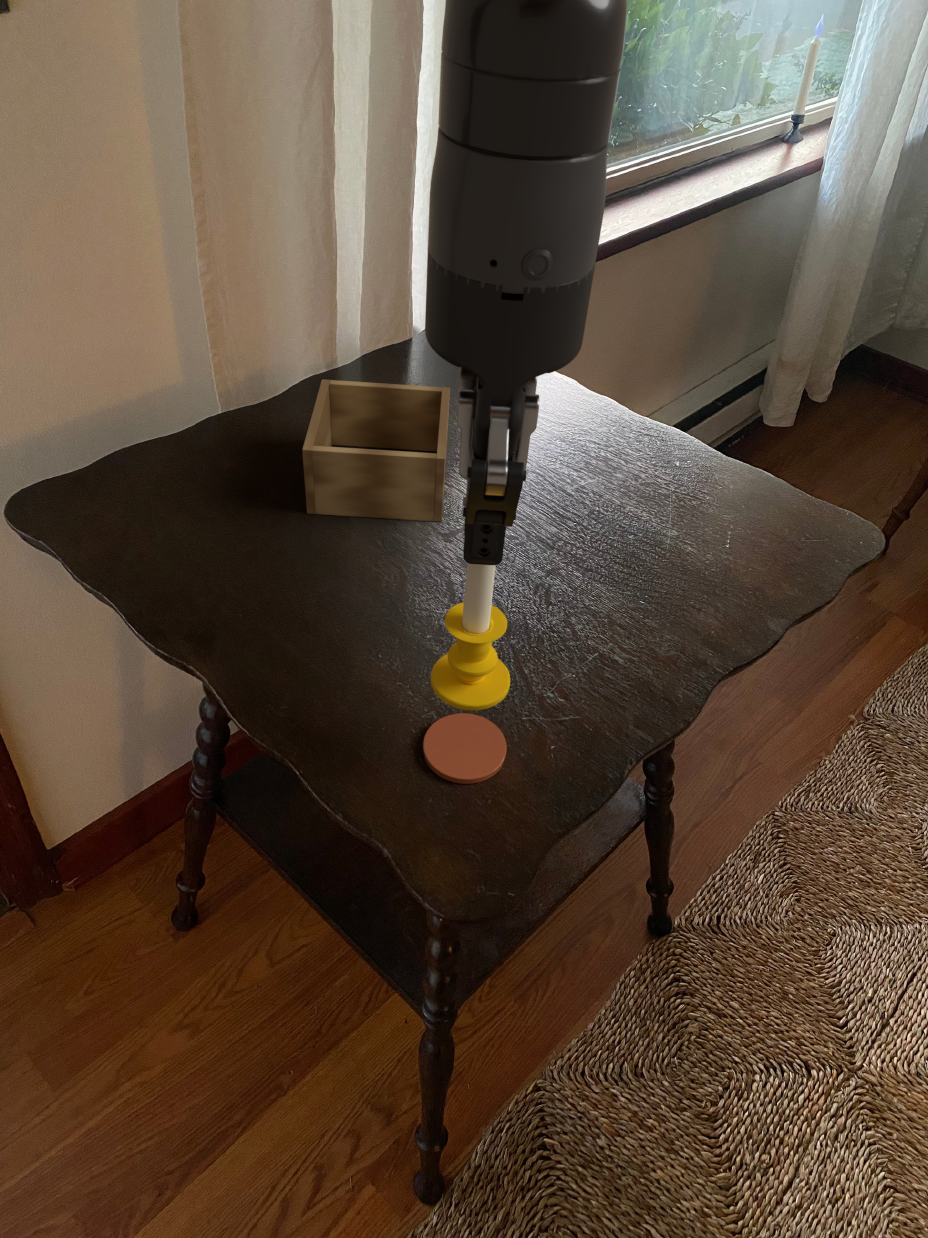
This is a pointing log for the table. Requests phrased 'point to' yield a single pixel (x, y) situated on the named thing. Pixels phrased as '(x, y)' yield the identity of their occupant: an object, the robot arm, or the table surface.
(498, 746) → the coaster
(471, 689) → the candle
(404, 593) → the table surface
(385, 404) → the crate
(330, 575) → the table surface
